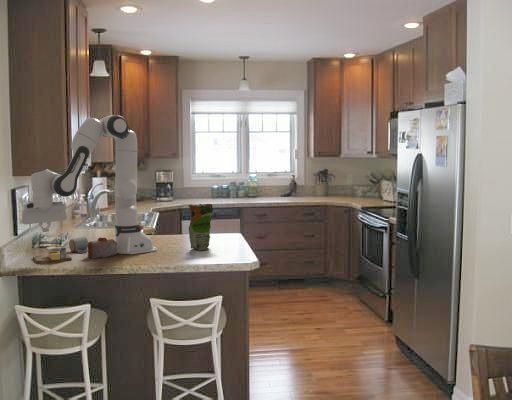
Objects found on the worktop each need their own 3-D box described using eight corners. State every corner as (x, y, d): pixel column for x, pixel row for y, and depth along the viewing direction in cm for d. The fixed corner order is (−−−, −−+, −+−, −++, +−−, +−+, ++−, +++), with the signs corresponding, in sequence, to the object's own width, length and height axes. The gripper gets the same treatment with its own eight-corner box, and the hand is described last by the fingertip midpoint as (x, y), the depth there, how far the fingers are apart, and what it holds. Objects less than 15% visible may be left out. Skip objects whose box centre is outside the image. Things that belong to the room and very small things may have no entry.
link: (45, 255, 276) (45, 247, 275) (55, 254, 278) (55, 246, 278) (50, 260, 264) (50, 251, 264) (61, 259, 267) (60, 250, 266)
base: (66, 255, 284) (65, 242, 283) (71, 260, 271) (71, 247, 271) (32, 258, 276) (32, 245, 276) (36, 263, 264) (36, 250, 263)
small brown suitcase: (112, 253, 288) (111, 235, 287) (118, 256, 282) (118, 236, 281) (86, 257, 279) (86, 237, 278) (93, 259, 273) (92, 239, 272)
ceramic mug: (68, 251, 295) (67, 237, 294) (82, 249, 301) (82, 235, 300) (77, 254, 287) (76, 239, 286) (92, 252, 293) (91, 237, 292)
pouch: (214, 248, 302) (213, 202, 300) (206, 252, 291) (206, 204, 289) (195, 247, 305) (194, 201, 303) (186, 251, 294) (186, 204, 292)
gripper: (65, 200, 273) (67, 228, 274) (20, 204, 264) (22, 233, 266) (66, 201, 267) (68, 229, 269) (20, 205, 259) (23, 234, 260)
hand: (45, 231), depth 267 cm, fingers closed
